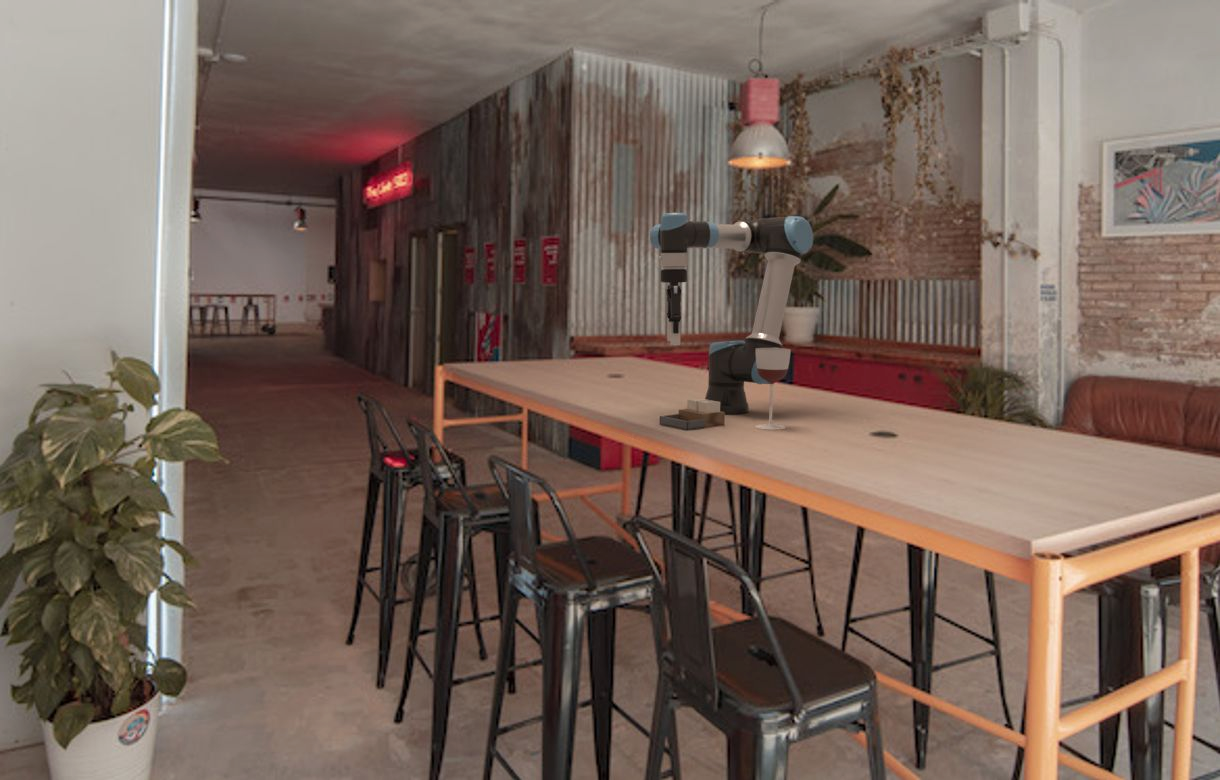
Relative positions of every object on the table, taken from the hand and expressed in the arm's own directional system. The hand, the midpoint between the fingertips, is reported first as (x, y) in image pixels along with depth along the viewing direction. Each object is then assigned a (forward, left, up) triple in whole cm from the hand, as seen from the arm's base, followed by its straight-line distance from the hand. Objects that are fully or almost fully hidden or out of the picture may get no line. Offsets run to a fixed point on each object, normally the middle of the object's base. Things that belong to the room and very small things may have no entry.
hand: (673, 343), depth 243 cm
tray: (-4, 0, -25) cm, 25 cm away
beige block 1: (-12, -2, -21) cm, 24 cm away
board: (-11, 0, -25) cm, 27 cm away
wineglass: (-25, +15, -25) cm, 38 cm away
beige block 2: (-12, +3, -21) cm, 24 cm away
